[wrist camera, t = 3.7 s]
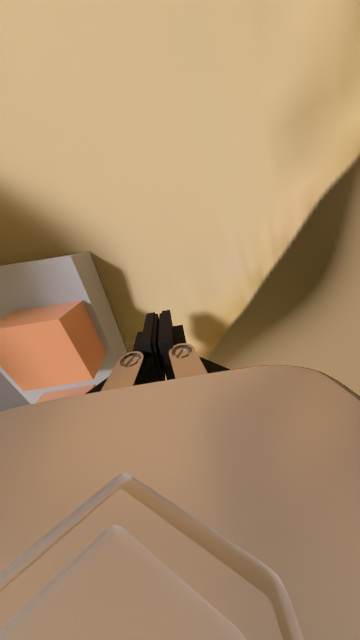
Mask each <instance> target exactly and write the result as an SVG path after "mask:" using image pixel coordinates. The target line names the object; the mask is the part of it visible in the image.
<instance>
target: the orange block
mask: <svg viewBox="0 0 360 640" xmlns="http://www.w3.org/2000/svg"><path fill="white" fill-rule="evenodd" d="M106 353H107V352H106V350H105V348H104V346H103V344H102V342H101V339H100V337H99V335H98V333H97V331H96V329H95V326H94V324H93V322H92V320H91V318H90V315H89V313H88V311H87V309H86V307H85V305H84V302H83V300H81V301H75V302H68V303H62V304H56V305H50V306H43V307H37V308H31V309H25V310H18V311H14V312H12V313H10V314H8V315H6V316H4V317H2V318H0V366H1V367H2V368H3V369H4V370H5V372H6V373H7V374H8V375H9V376H10V377H11V378H12V379H13V380H14V381H15V383H16V384H17V385H18V386H19V387H20V388H21V389H22V390H23V391H30V390H36V389H42V388H48V387H54V386H60V385H66V384H72V383H78V382H85V381H91V380H94V378H95V376H96V374H97V372H98V370H99V368H100V365H101V363H102V361H103V359H104V357H105V355H106Z"/></svg>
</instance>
